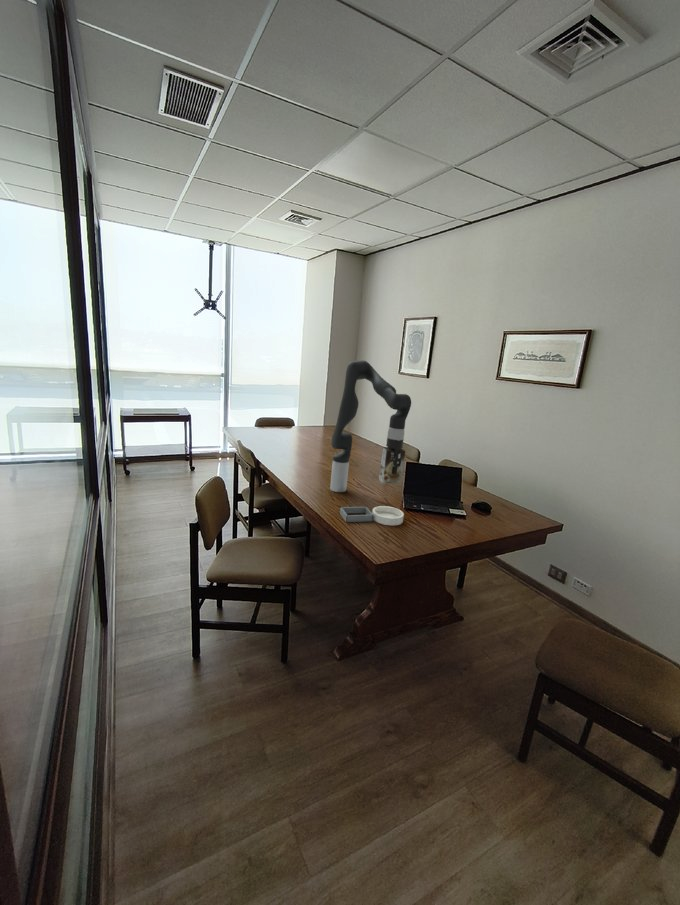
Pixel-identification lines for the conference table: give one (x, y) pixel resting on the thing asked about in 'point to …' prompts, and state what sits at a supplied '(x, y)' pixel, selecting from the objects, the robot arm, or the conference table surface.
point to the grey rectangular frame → (356, 518)
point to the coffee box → (390, 467)
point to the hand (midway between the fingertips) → (391, 471)
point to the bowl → (387, 515)
